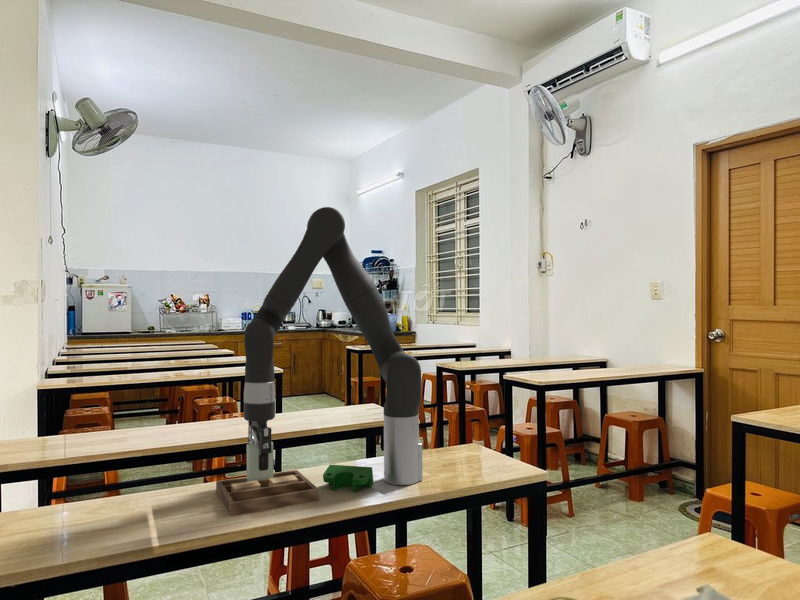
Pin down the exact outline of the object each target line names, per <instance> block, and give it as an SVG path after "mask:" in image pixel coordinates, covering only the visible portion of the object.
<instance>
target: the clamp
mask: <svg viewBox="0 0 800 600" xmlns="http://www.w3.org/2000/svg"><path fill="white" fill-rule="evenodd" d="M322 480H323V482H324V483H326V484H328V485H329V486H332V491H333V492H335V491H337V490H338V489H342V488H351V489H352V493H357V491H358V490H359V489H360V488H366V487H367V488H369V489H371V488H373V485H374V473H373V466H361V465H360V466H357V465H344V464H343V465H341V464H329V465H328V467H327V468H326V470H325V471H324V473H323V474H322Z"/></svg>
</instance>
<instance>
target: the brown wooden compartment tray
mask: <svg viewBox="0 0 800 600" xmlns="http://www.w3.org/2000/svg"><path fill="white" fill-rule="evenodd" d="M289 475H294V476H295V477H296V478H297V479H298V482H295V483H288V484H282V485H275V486H269V479H265V480H259V481H258V482H259V483H260V485H261V488H256V489H249V490H243V491H236V492H231V484H235V483H242V482H247V476H243V477H237V478H229V479H223V480H222V479H221V480H216V481H215V484H216V485H215V491H216V494H217V496H218V497H219V499H220V501H221V503H222V505H223V506H224V508H225V510H226V511H227V514H228V515H229V517H231V516H232V517H233V516H238V515H243V514H250V513H254V512H260V511H267V510H272V509H273V510H274V509H278V508H279V509H280V508H284V507H290V506H295V505H301V504H302V505H303V504H307V503H313V502H319V501H320V489H319V488H318V487H317V486H316V485H315V484H313V483H312V482H311V481H310V480H309V479H308V478H307V477H306V476H305V475H303V474H302V473H301V472H299V470H297V469H293V470H291V469H290V470H286V471H285V470H284V471H279V472H273V478H276V477H283V476H289Z"/></svg>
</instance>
